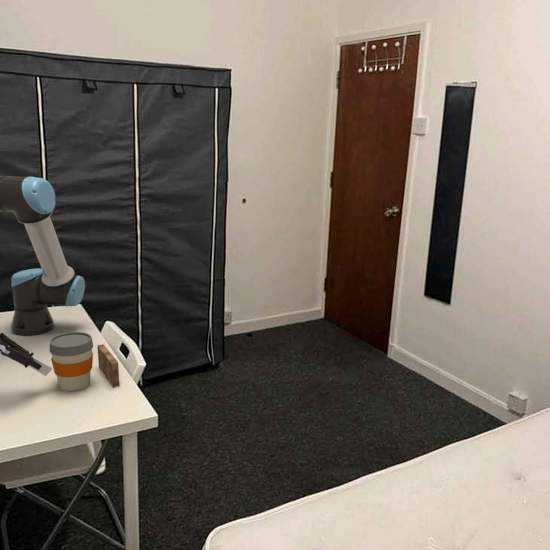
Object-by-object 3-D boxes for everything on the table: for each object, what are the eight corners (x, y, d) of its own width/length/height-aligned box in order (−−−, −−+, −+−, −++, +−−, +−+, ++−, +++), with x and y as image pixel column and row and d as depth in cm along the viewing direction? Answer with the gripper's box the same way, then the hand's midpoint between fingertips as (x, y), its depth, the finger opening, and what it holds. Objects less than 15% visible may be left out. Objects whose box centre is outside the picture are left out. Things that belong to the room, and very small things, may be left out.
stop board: (98, 367, 182) (97, 345, 180) (104, 366, 183) (103, 344, 181) (113, 387, 169) (111, 363, 167) (119, 385, 170) (118, 362, 168)
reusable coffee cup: (50, 395, 163) (46, 349, 159) (55, 377, 174) (51, 333, 170) (94, 391, 166) (91, 345, 162) (96, 373, 178) (93, 330, 174)
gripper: (-33, 332, 156) (35, 373, 169) (-29, 348, 146) (43, 390, 159) (-14, 311, 158) (52, 354, 171) (-9, 326, 147) (61, 370, 160)
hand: (48, 371), depth 165 cm, fingers closed
